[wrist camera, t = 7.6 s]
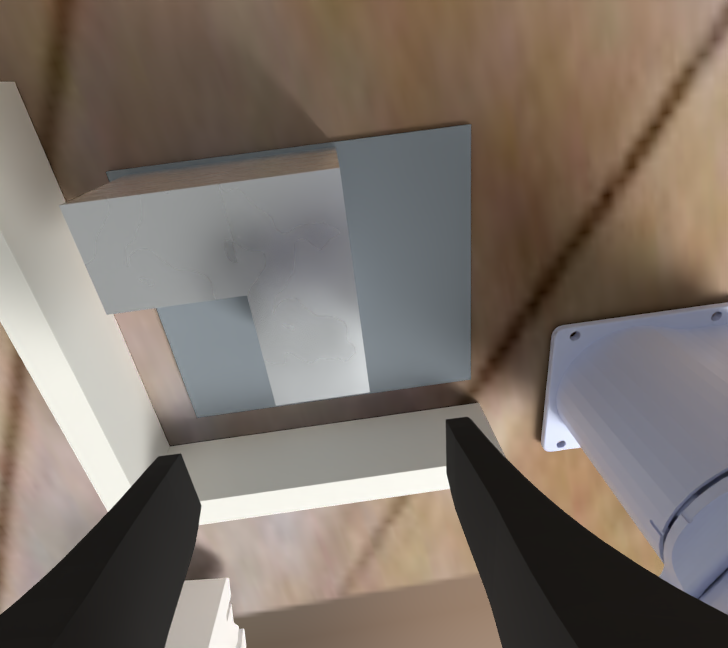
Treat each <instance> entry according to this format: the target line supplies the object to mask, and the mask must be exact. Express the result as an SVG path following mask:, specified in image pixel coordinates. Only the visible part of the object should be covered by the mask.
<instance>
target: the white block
mask: <svg viewBox="0 0 728 648" xmlns="http://www.w3.org/2000/svg"><path fill="white" fill-rule="evenodd" d="M230 597H231V592H230V583H229V578H216V579H201V580H186V581H184V584H183V587H182V590H181V594H180V597H179V600H178V603H177V607H176V610H175V613H174V617H173V620H172V623H171V627H170V630H169V633H168V637H167V641H166V645H165V648H246V641H245V630H244V629H239V626H238V625H236V624H235V623H234V622H233V612H232V603H229V601H230Z"/></svg>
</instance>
